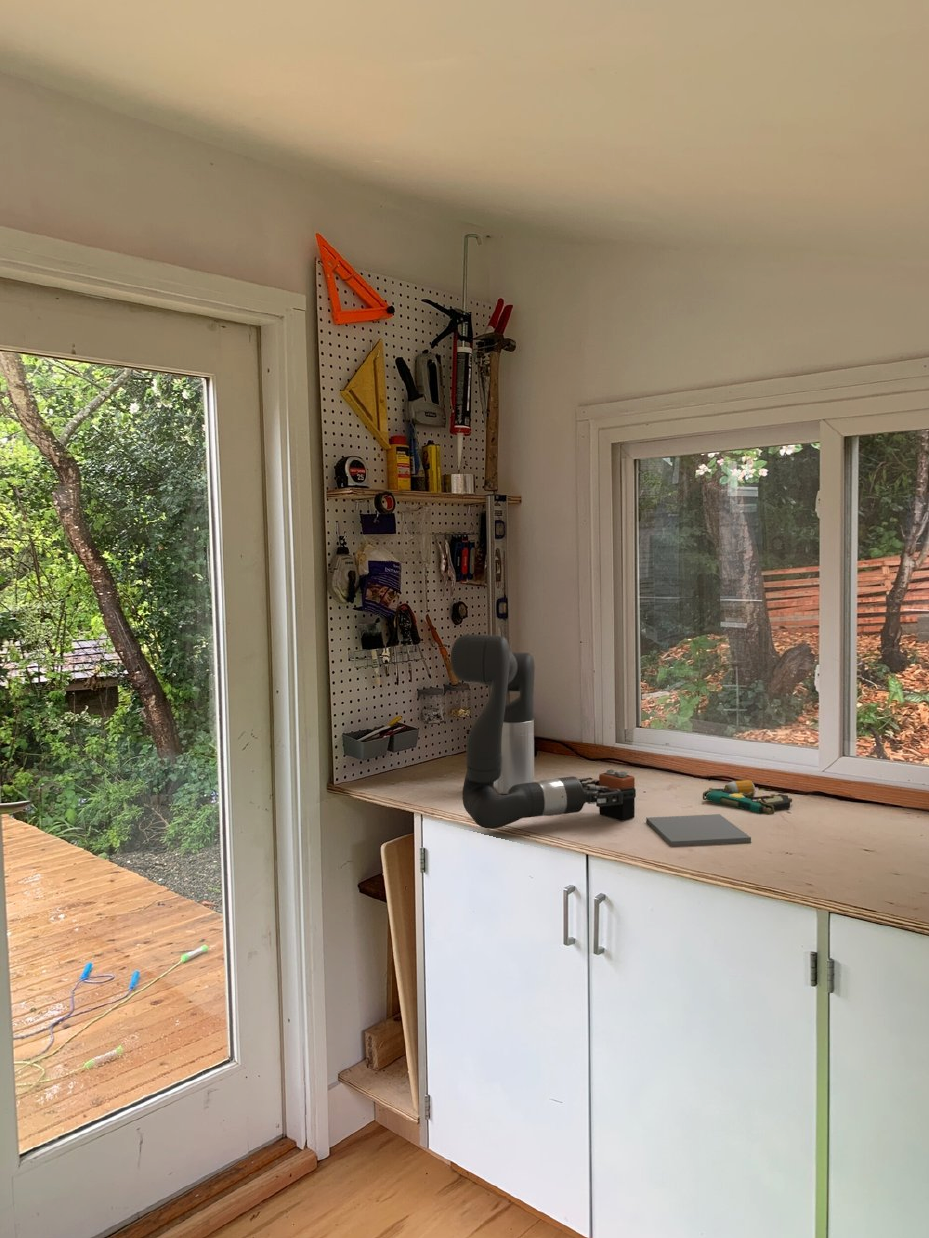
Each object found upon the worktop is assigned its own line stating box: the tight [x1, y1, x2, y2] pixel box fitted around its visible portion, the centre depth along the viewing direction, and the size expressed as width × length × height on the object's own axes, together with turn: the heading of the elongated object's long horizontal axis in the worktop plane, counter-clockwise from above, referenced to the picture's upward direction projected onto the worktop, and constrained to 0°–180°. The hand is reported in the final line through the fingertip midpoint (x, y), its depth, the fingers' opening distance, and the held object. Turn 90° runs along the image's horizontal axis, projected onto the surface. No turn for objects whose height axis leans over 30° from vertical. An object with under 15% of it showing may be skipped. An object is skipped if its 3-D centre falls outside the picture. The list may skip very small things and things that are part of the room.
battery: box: [598, 768, 636, 822], centre depth 197 cm, size 4×7×10 cm, turn 38°
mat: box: [645, 813, 752, 847], centre depth 186 cm, size 16×16×1 cm
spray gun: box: [702, 779, 793, 814], centre depth 205 cm, size 4×17×15 cm
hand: (624, 787), depth 198 cm, fingers closed on battery, 7 cm apart
